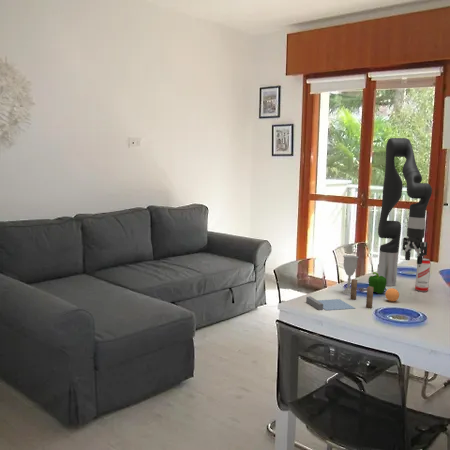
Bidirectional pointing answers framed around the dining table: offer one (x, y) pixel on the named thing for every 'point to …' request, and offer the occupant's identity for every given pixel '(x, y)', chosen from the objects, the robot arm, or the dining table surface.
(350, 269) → the chalice
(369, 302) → the post
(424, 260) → the beer can
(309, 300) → the wall
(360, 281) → the dining table surface
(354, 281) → the post
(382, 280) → the bell pepper
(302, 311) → the dining table surface
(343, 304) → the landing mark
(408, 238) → the robot arm
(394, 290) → the ball
